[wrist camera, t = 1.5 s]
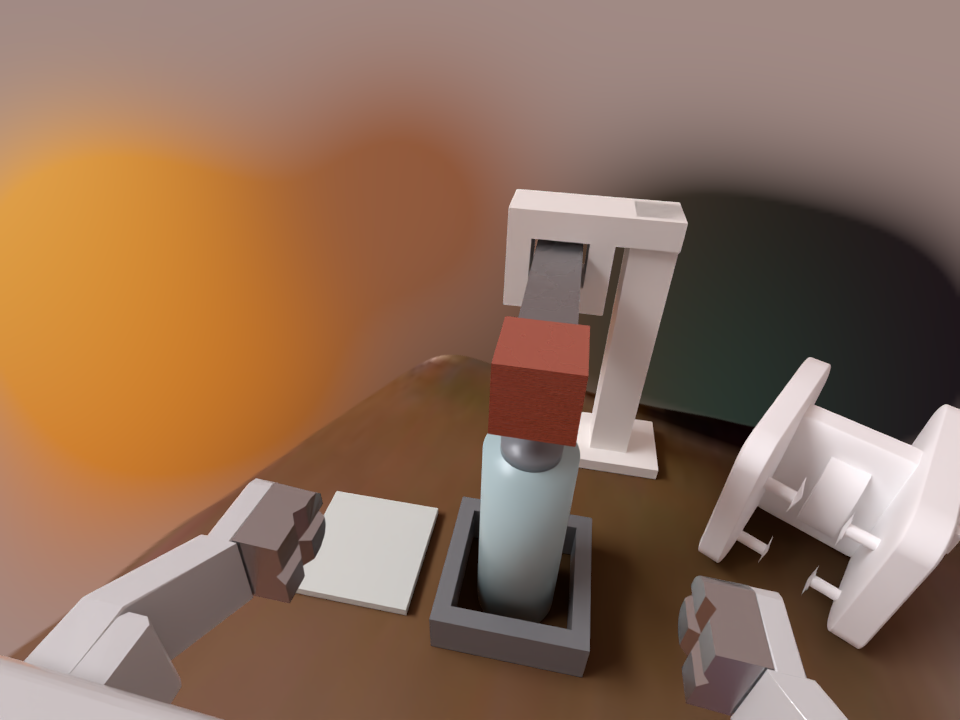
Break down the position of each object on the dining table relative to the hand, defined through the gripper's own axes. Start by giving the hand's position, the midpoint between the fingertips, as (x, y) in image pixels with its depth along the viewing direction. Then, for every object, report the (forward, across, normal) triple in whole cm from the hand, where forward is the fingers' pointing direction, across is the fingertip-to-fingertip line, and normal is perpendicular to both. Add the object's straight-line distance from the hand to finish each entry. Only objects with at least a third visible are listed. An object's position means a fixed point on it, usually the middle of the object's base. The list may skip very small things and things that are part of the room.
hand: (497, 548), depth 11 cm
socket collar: (+13, -1, +22) cm, 26 cm away
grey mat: (+14, +10, +22) cm, 28 cm away
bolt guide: (+28, -4, +21) cm, 36 cm away
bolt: (+21, 0, +6) cm, 22 cm away
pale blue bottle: (+13, -1, +22) cm, 26 cm away
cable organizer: (+22, -20, +21) cm, 37 cm away
